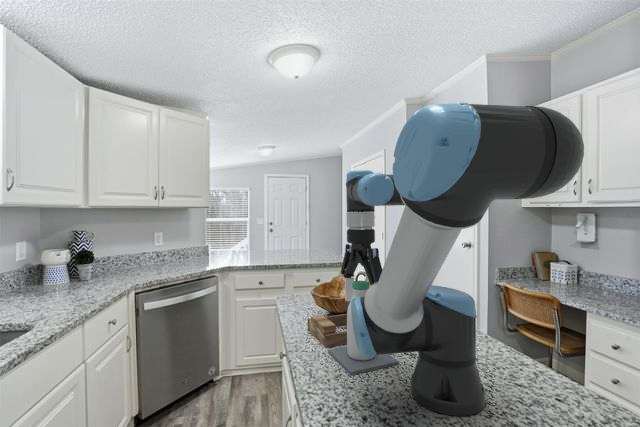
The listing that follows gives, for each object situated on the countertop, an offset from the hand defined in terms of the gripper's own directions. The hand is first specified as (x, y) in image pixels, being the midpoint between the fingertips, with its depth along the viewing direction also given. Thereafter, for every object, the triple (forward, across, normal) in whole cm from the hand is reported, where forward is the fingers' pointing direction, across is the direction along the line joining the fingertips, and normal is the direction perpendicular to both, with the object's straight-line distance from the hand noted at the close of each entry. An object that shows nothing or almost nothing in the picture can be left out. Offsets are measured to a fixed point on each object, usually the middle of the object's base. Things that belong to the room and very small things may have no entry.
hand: (361, 306), depth 91 cm
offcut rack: (+14, +18, -2) cm, 23 cm away
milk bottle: (+14, 0, 0) cm, 14 cm away
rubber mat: (+14, 0, 0) cm, 14 cm away
